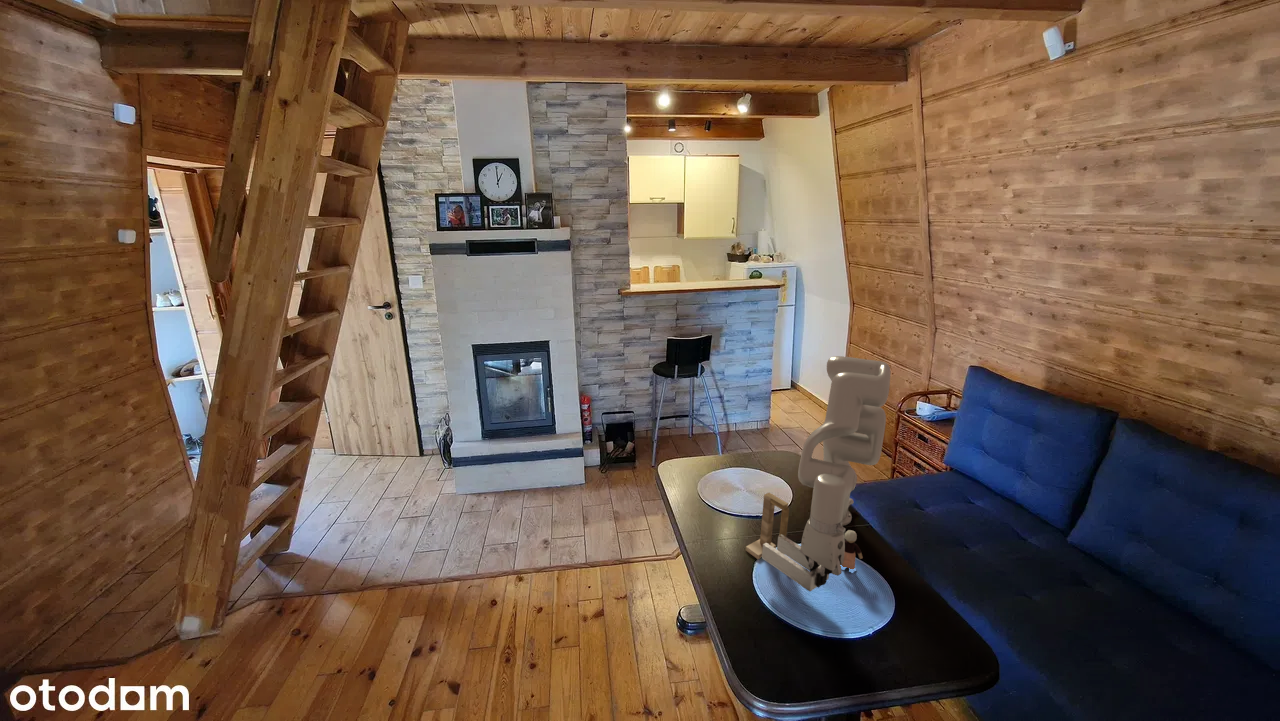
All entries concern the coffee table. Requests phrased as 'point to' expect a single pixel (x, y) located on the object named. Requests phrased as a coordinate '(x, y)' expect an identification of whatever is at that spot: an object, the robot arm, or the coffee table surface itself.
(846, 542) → the grandmother figurine
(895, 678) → the coffee table surface
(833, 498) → the robot arm
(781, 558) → the steel C-link
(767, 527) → the pin stand
